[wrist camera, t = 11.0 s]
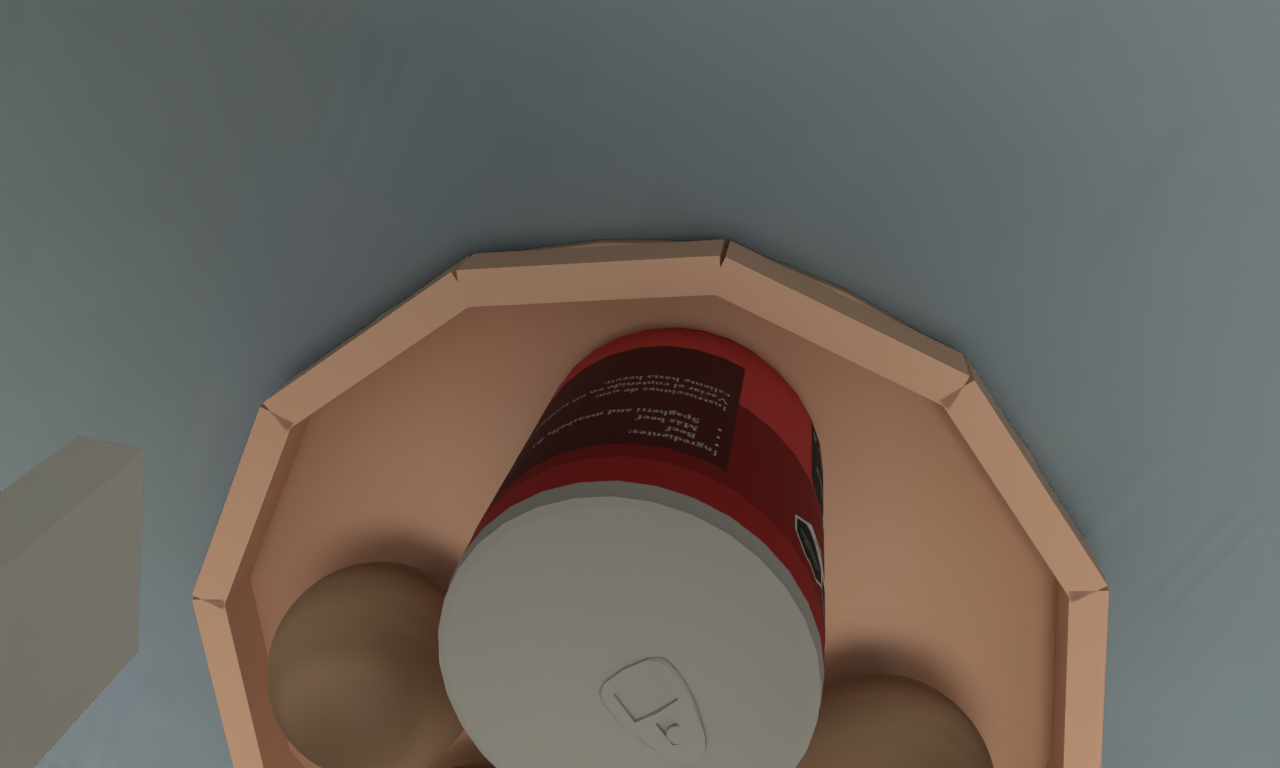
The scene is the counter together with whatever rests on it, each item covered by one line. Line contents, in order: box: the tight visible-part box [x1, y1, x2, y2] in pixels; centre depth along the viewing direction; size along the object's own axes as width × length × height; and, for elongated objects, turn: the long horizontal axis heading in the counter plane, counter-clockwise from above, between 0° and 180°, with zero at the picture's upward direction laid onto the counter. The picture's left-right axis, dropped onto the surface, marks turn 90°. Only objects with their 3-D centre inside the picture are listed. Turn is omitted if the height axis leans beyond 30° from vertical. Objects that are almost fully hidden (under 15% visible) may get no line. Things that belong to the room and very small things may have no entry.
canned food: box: [438, 327, 825, 768], centre depth 29 cm, size 8×8×11 cm
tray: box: [192, 239, 1109, 768], centre depth 36 cm, size 26×26×2 cm
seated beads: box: [267, 562, 994, 768], centre depth 34 cm, size 18×18×6 cm
